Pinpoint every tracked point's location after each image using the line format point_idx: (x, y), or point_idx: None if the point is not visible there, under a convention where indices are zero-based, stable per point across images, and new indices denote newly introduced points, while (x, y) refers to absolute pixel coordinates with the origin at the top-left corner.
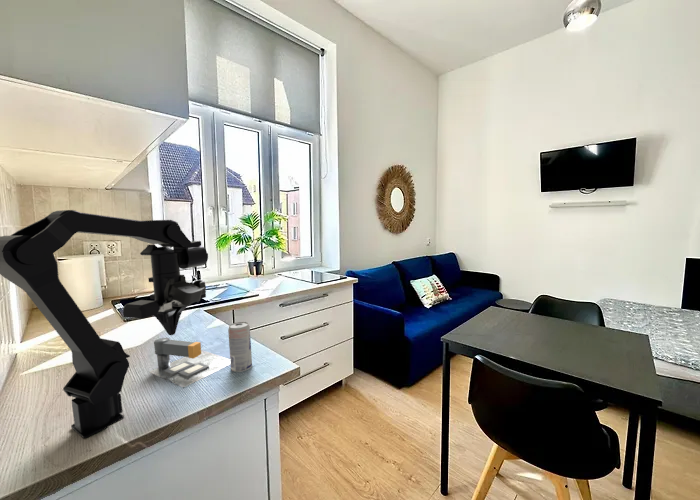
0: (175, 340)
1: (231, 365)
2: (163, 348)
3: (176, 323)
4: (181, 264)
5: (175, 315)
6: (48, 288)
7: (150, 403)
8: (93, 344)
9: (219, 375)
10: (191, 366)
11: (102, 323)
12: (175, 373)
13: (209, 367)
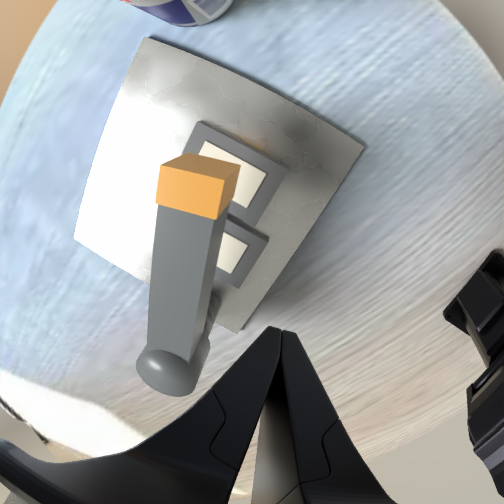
0: (149, 324)
1: (219, 4)
2: (196, 344)
3: (248, 379)
4: None
5: (239, 466)
6: None
7: (436, 220)
8: None
9: (255, 48)
10: None
11: None
12: (257, 235)
13: (197, 119)
